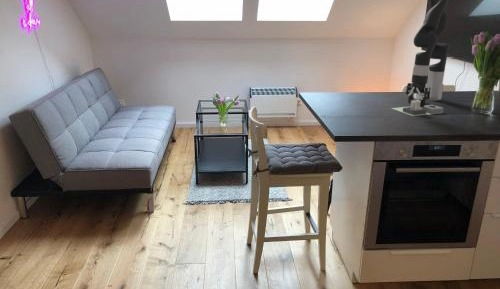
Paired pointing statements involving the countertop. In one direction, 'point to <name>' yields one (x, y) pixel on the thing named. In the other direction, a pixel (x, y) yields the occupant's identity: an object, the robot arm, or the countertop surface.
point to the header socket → (414, 111)
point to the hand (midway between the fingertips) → (415, 105)
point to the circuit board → (429, 109)
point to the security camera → (417, 96)
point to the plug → (415, 105)
